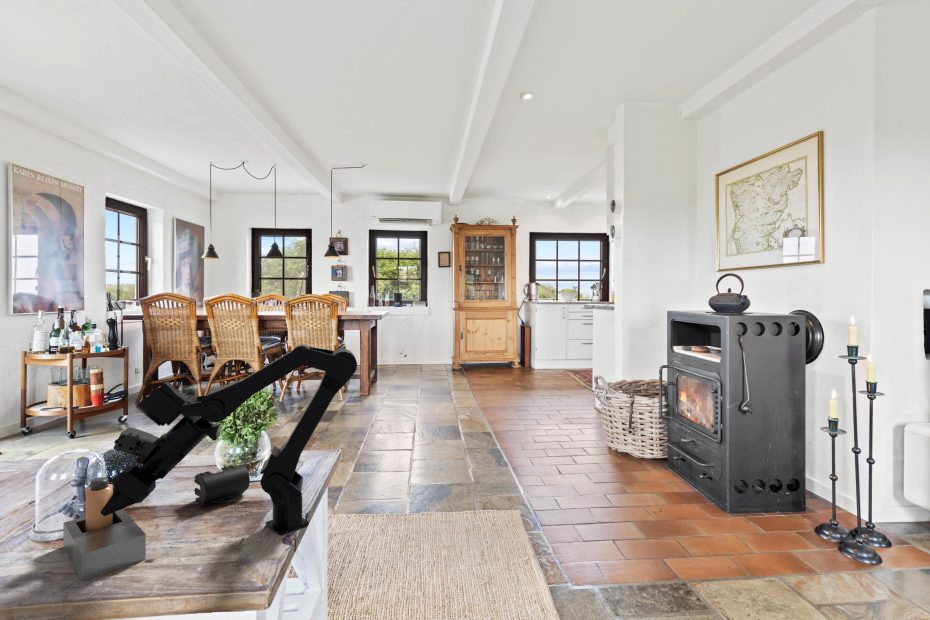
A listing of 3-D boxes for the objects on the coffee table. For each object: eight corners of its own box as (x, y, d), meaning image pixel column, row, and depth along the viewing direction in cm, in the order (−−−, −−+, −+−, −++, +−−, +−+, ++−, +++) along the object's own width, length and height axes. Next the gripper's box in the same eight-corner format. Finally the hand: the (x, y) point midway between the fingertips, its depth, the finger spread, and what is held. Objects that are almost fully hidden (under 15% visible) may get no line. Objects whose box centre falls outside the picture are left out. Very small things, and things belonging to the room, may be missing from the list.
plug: (117, 543, 89) (117, 478, 89) (93, 553, 85) (93, 485, 85) (104, 538, 90) (104, 474, 90) (80, 548, 87) (81, 481, 87)
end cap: (205, 510, 103) (206, 480, 103) (192, 501, 108) (192, 472, 107) (250, 496, 111) (250, 468, 111) (235, 488, 115) (236, 461, 115)
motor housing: (145, 559, 84) (145, 534, 84) (81, 581, 77) (81, 554, 77) (121, 529, 94) (121, 507, 94) (63, 546, 87) (63, 522, 87)
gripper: (162, 403, 98) (101, 459, 96) (125, 427, 80) (48, 497, 78) (204, 437, 101) (145, 493, 98) (176, 468, 83) (104, 537, 80)
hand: (113, 503), depth 88 cm, fingers open, 9 cm apart
